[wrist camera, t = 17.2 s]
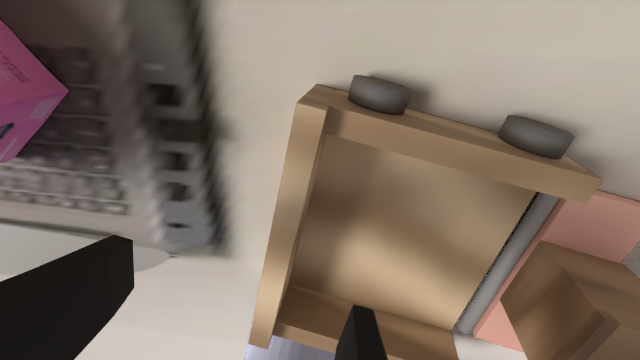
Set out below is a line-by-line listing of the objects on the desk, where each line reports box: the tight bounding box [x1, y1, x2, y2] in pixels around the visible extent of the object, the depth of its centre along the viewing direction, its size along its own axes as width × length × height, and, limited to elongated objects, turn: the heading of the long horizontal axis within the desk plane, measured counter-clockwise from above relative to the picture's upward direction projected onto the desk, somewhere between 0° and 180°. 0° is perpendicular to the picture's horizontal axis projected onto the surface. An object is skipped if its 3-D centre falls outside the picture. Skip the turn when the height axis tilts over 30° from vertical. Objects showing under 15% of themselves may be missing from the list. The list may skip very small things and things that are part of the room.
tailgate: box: [457, 190, 640, 353], centre depth 19 cm, size 11×1×6 cm
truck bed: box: [248, 75, 603, 360], centre depth 17 cm, size 16×13×5 cm
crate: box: [500, 240, 640, 360], centre depth 16 cm, size 5×5×6 cm
